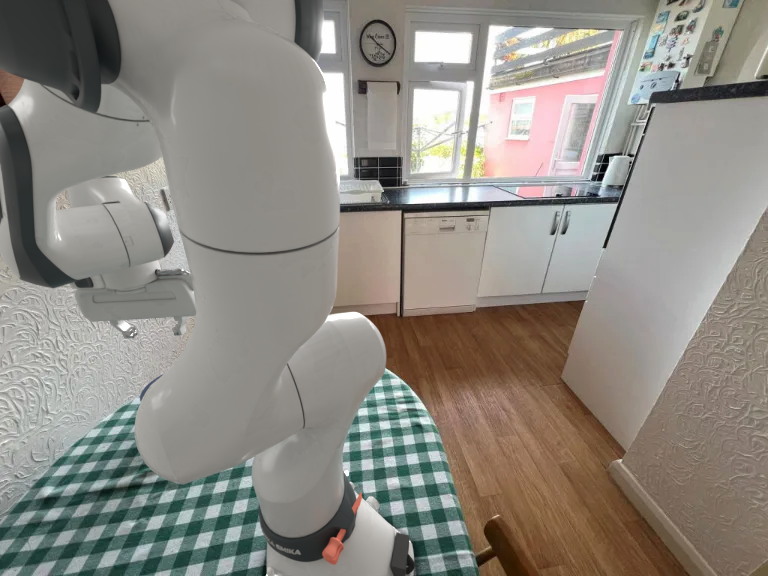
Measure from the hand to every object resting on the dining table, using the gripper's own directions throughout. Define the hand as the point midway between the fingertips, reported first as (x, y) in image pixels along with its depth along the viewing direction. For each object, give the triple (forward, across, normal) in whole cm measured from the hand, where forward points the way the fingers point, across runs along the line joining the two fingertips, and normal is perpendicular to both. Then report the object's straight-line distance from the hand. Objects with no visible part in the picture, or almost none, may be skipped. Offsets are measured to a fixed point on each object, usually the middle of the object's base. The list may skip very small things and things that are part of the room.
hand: (156, 335), depth 62 cm
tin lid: (+13, 0, 0) cm, 13 cm away
